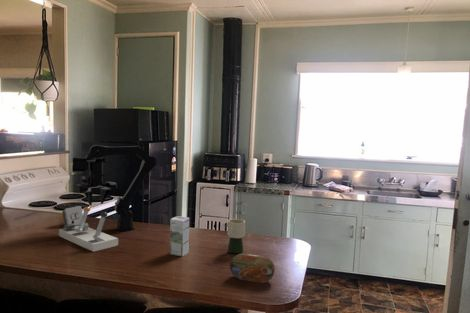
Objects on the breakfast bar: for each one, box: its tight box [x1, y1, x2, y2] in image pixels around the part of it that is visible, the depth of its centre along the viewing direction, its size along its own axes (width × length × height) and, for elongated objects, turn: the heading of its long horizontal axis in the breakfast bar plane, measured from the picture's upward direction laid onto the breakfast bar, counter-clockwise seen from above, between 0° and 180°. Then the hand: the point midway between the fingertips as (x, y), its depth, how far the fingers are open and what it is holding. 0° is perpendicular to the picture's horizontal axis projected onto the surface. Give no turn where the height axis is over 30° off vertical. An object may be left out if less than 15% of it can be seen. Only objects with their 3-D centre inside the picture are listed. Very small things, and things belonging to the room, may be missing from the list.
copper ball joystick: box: [76, 205, 91, 233], centre depth 152 cm, size 3×3×12 cm
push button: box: [83, 222, 89, 230], centre depth 158 cm, size 4×4×2 cm
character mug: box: [227, 218, 246, 254], centre depth 142 cm, size 11×7×13 cm, turn 156°
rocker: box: [63, 224, 75, 229], centre depth 157 cm, size 3×4×1 cm
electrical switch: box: [61, 205, 84, 226], centre depth 177 cm, size 9×5×9 cm, turn 152°
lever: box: [93, 211, 108, 240], centre depth 144 cm, size 3×3×12 cm
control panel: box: [58, 225, 119, 252], centre depth 152 cm, size 11×30×3 cm, turn 51°
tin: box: [229, 252, 276, 284], centre depth 116 cm, size 15×3×8 cm, turn 69°
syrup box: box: [169, 216, 190, 257], centre depth 139 cm, size 6×6×14 cm
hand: (96, 204), depth 165 cm, fingers open, 5 cm apart
